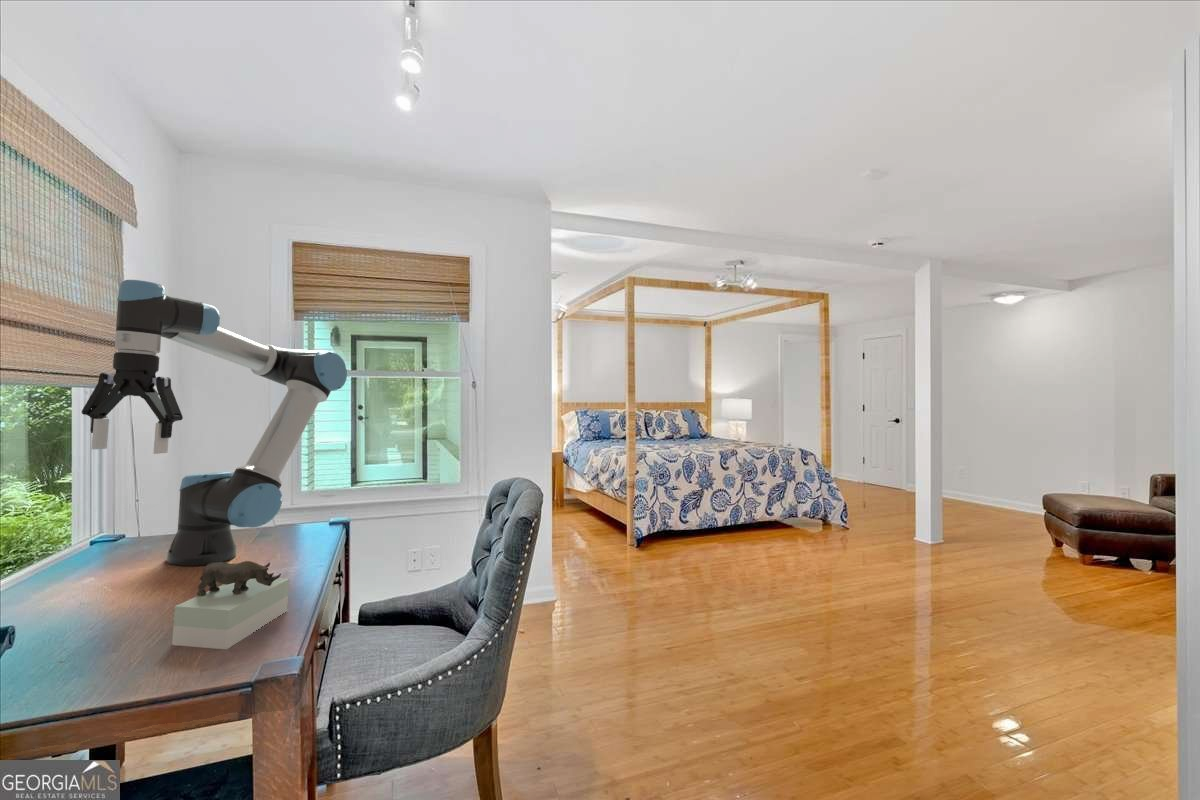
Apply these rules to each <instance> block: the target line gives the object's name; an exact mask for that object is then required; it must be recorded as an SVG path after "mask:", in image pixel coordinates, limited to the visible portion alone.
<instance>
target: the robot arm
mask: <svg viewBox="0 0 1200 800" xmlns="http://www.w3.org/2000/svg"><path fill="white" fill-rule="evenodd" d="M165 289H166V288H165V287H164V286H163V285H162V284H158V283H156V282H152V281H146V280H140V279H124V280H122V281H121V282H120V285H119V288H118V295H117V298H116V299H117V300H116V301H117V310H116V322H115V323H116V325H115V326H116V327H115V339H114V340H115V341H114V349H115V350H117V351H116V352H115V353H113V360H112V368H113V369H114V370H115V373H109V372H108V373H107V372H101V373H99V377H98V380H97V381H98V382H97V384H96V386H95V387H94V389H93V391H92V393H91V395H90V396H89V397H88V399H87V401H86V403H85V404H84V406H83V408H82V410H81V414H82V415H84V416H87V417H89V418H91V420H90V433H91V434H92V437H91V450H103V449H108V438H109V436H108V435H109V424H110V418H108V414H110V412H111V411H112V410H113V409H114V408H115V407H116V406H117V405H118V404H119V403H120V402H121V401H122V400H123V399H124V398H125V397H128V396H130V397H140V398H142V399H143V400H144V401H145V403H146V404H147V406H148V407H149V408H150V409H151V411H152V412H153V414H154V415H155V417H156V418H157V420H158V421H157V422H156V423H155V427H154V442H153V452H152V454H157V455H159V454H167V453H168V452H169V451H168V449H169V439H170V438H172V435H173V434H172V433H173V424H174V423H175V422H177V421H182V420H183V418H184V417H183V414H182V411H181V409H180V407H179V404H178V402H177V400H176V396H175V394H174V392H173V389H172V379H171V378H170V377H168V376H156V374H157V372H159V368H160V357H159V355H157V354H159V353H161V344H162V343H161V342H162V338H166V339H168V340H170V341H174V342H176V343H178V344H182V345H184V346H187V347H189V348H193V349H195V350H198V351H201V352H204V353H207V354H209V355H213V356H214V357H218V358H221V359H223V360H226V361H229V362H232V363H234V364H237V365H240V366H242V367H244V368H247V369H250V371H251V372H252V373H253V374H254V375H256V376H259V377H262V378H265V379H267V380H269V381H272V382H275V383H278V384H280V385H283V386H285V387H287V392H286V394H285V395H284V397H283V398H282V401H281V403H280V404H279V406H278V408H277V410H276V412H275V413H274V415H273V416H272V419H271V420H270V422H269V423H268V425H267V427H266V429H265V431H264V432H263V434H262V436H261V437H260V439H259V441H258V443H257V444H256V446H255V448H254V450H253V452H252V453H251V454H250V457H249V459H248V460H247V461H246V464H245V465H242V466H238V467H236V468H235V470H234V472H233V471H221V472H219V471H217V472H207V473H206V472H205V473H204V472H203V473H195V474H188V475H185V476H184V477H183V478H182V479H181V483H180V488H179V505H178V506H179V507H178V518H177V520H178V521H177V531H176V534H175V536H174V537H173V540H172V542H171V545H170V547H169V549H168V550H167V553H166V562H167V564H170V565H173V566H182V567H188V566H190V567H193V566H207V565H209V564H210V563H219V562H226V561H229V560H232V559H234V558H235V557H236V556H237V544H236V543H235V539H234V536H233V532H232V529H231V526H235V527H237V528H251V529H252V528H258V527H262V526H264V525H266V524H267V523H270V522H271V521H272V520H273V519H274V518H275V517H276V516H277V514H278V513H279V511H280V509H281V508H282V505H283V504H282V503H283V499H282V497H283V495H282V491H281V490H280V488H281V487H282V485H283V484H282V481H281V479H280V478H281V477H280V476H281V474H282V473H283V470H284V468H285V466H286V465H287V462H288V461H289V459H290V457H291V456H292V454H293V451H294V450H295V448H296V446H297V445H298V442H299V441H300V439H301V437H302V435H303V433H304V431H305V429H306V427H307V426H308V423H309V421H310V420H311V418H312V416H313V415H314V412H315V411H316V408H317V406H318V404H319V403H323V402H326V401H327V400H328V398H329V396H330V394H331V392H334V391H338V390H339V389H342V388H343V386H344V385H345V384H346V382H347V380H348V379H347V378H348V369H347V366H346V362H345V361H344V359H343V358H342V357H341V356H340V354H338V353H336V352H335V351H331V350H329V351H328V350H325V349H319V350H313V349H312V350H311V349H309V350H308V349H292V348H282V347H277V346H274V345H273V344H270V343H269V344H268V343H266V344H260V343H258V342H255V341H253V340H251V339H248V338H246V337H243V336H241V335H239V334H236V333H234V332H232V331H229V330H227V329H224V328H222V327H220V325H221V324H220V322H221V316H220V312H219V310H218V309H217V308H216V307H215V306H214V305H211V304H208V303H203V302H202V301H201V302H200V301H194V300H189V299H183V298H178V297H172V296H169V295H167V294H166V290H165ZM114 384H115V385H114ZM155 387H156V388H155Z"/></svg>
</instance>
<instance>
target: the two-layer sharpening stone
mask: <svg viewBox="0 0 1200 800" xmlns="http://www.w3.org/2000/svg"><path fill="white" fill-rule="evenodd" d="M234 585H235V583H232V584H228V585H225V584H220V585H219V586H217V587H218V588H219V589H220V590H219V591H209V590H208V591H206V595H202V596H198V595H196V596H195V597H193V598H189V599H188V600H186V601H184V602H181V603H179V604H177V605H175V606H174V615H173V628H172V640H171V641H172V642H171V646H176V647H177V646H179V647H190V648H191V647H192V648H204V649H214V650H215V649H216V650H228V649H230V648H232V647H233V646H234V645H236V644H237V643H239V642H241V641H243V640H244V639H245V638H247V637H249V636H251V635H252V634H254V633H255V632H257V631H258V629H259V630H261V629H262V628H263V627H265V626H266V625H265V624H267V623H268V622H270V621H271V622H273V621H274V620H273V619H275V618H276V619H278V618H279V617H278V616H280V615H281V616H283V615H284V614H286V613H287V612H288V605H289V591H290V590H289V589H290V578H285V577H284V578H282V577H279V578H278V579H276V580H275V581H273V582H272V584H271V586H267V585H264V584H261V583H258V582H257V581H256V579H255V578H254V579H249V580H248V581H247V583H246V586H247V587H248V588H249V589H247V590H240V591H241V594H234V593H233V592H232V591H233V589H234ZM286 611H287V612H286ZM285 612H286V613H285ZM283 613H284V614H283ZM282 614H283V615H282ZM281 616H280V617H281ZM277 617H278V618H277ZM276 619H275V620H276ZM272 620H273V621H272ZM271 622H270V623H271ZM268 624H269V623H268ZM268 624H267V625H268ZM264 625H265V626H264ZM262 626H263V627H262ZM261 627H262V628H261ZM256 630H257V631H256ZM253 632H254V633H253Z"/></svg>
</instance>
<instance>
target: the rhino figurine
mask: <svg viewBox="0 0 1200 800" xmlns="http://www.w3.org/2000/svg"><path fill="white" fill-rule="evenodd" d="M270 566H271V562H268V563H267V564H266V565H261V564H259V563H257V562H254V561H251V560H249V561H248V560H245V561H241V562H238V563H229V562H226V561H223V562H219V563H210V564H207V565H205V567H204V568H203V570H202V573H201V576H200V581H201V582H200V583H198V585H197V588H198V591H197V592H196V596H202V595H206V592H207V591H206V590H205V589H206V587H207V586H208V587H209V589H208V591H219V590H220V589H219V588H218V587H219V586H218V585H217V583H218V584H220V585H223V584H225V585H228V584H232V583H235V585H234V589H233V591H232V592H233V593H234V594H241V591H240V590H247V589H249V588H248V587H247V586H246V583H247V581H248V580H249V579H254V578H255V579H256V581H257V582H258V583H261V584H264V585H267V586H271V584H272V582H273V581H275V580H276V579H278V578H281V575H282V573H278V575H276V576H274V573H275V572H272V573H268V571H269V567H270Z"/></svg>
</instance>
